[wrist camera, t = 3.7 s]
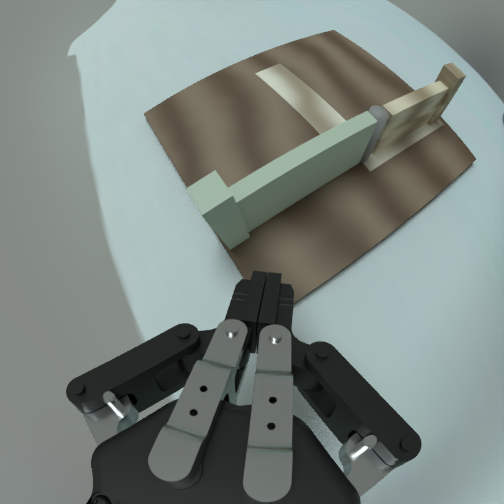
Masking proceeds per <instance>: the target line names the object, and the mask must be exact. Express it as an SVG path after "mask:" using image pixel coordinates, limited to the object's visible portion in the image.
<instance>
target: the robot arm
mask: <svg viewBox="0 0 504 504" xmlns="http://www.w3.org/2000/svg"><path fill="white" fill-rule="evenodd" d="M503 121H504V114H503ZM281 277H282V273H273V272H268V274H267V272H263V271H253V273H252V276H251V280H247V279H242V280H241V281H240V282H239V283H238V284H236V287H235V290H234V293H233V296H232V299H231V302H230V305H229V308H228V311H227V314H226V317H225V320H224V321H223V322H221V323H220V324H219V325H218V327H217V328H215V329H212V330H205V331H198V329H197V328H196V327H195V326H193V325H191V324H187V323H183V324H179V325H176V326H174V327H172V328H171V329H169V330H167V331H165V332H163V333H161V334H159V335H158V336H156V337H154V338H152V339H150V340H148V341H146V342H145V343H143V344H141V345H139V346H137V347H135V348H133V349H131V350H130V351H127V352H126V353H124V354H122V355H120V356H118V357H116V358H114V359H112V360H110V361H108V362H106V363H104V364H102V365H100V366H98V367H97V368H94V369H92V370H90V371H88V372H87V373H85V374H83V375H81V376H79V377H77V378H75V379H73V380H72V381H71V382H70V383H69V384H68V386H67V389H66V394H67V397H68V399H69V400H70V401H71V402H72V403H73V404H74V405H75V406H76V407H77V409H78V410H79V411H80V412H81V413H82V414H83V416H84V418H85V420H86V423H87V425H88V427H89V429H90V431H91V433H92V435H93V437H94V439H95V441H96V443H97V445H98V447H97V448H96V449H95V451H94V453H93V455H92V460H91V468H92V474H93V491H92V495H91V497H90V499H89V500H88V502H87V503H86V504H361V502H360V496H362V495H363V494H364V493H365V492H367V491H368V490H369V489H371V488H372V487H373V486H374V485H375V484H377V483H378V482H379V481H380V480H381V479H383V478H384V477H385V476H386V475H387V474H388V473H389V472H391V471H392V470H393V469H395V468H397V467H399V466H401V465H403V464H404V463H406V462H408V461H410V460H412V459H413V458H415V457H416V456H417V455H418V453H419V452H420V449H421V439H420V437H419V435H418V434H417V433H416V432H415V431H414V430H413V429H412V428H411V427H410V426H409V425H408V424H407V423H406V421H405V420H404V419H403V418H402V417H401V416H400V415H399V414H398V413H397V412H396V411H395V410H394V409H393V408H392V407H391V406H390V405H389V404H388V403H387V402H386V401H385V400H384V399H383V398H382V397H381V396H380V395H379V393H378V392H377V391H376V390H375V389H374V388H373V387H372V386H371V385H370V384H369V383H368V382H367V381H366V380H365V379H364V378H363V377H362V376H361V375H360V374H359V373H358V372H357V371H356V369H355V368H354V367H353V366H352V365H351V364H350V363H349V362H348V361H347V360H346V359H345V358H344V357H343V356H342V355H341V354H340V353H339V352H338V351H337V350H336V349H335V347H333V346H332V345H331V344H329V343H326V342H315V343H312V344H311V345H309V344H306V343H303V342H301V341H299V340H298V339H297V338H296V337H295V336H294V335H293V333H292V330H291V326H292V315H293V302H294V290H293V288H292V286H291V284H284V283H281ZM256 347H257V354H258V357H257V367H256V373H255V382H254V392H253V401H252V405H243V406H238V405H236V402H237V397H238V393H239V390H240V387H241V384H242V381H243V378H244V375H245V372H246V369H247V363H248V361H249V356H250V353H255V352H256ZM293 385H295V386H297V388H298V390H299V392H300V393H301V394H302V396H303V397H304V398H305V399H306V401H307V402H308V403H309V404H310V406H311V407H312V408H313V409H314V411H315V412H316V413H317V414H318V415H319V417H320V418H321V419H322V420H323V422H324V423H325V424H326V425H327V426H328V428H329V429H330V430H331V431H332V432H333V434H334V435H335V436H336V437H337V438H338V440H339V441H340V442H341V443H342V444H343V445H342V446H341V448H340V450H339V459H340V461H341V463H342V465H343V469H344V471H343V472H342V471H341V469H340V468H339V467H338V465H337V464H336V463H335V461H334V460H333V459H332V458H331V456H330V455H329V454H328V452H327V451H326V450H325V448H324V447H323V446H322V444H321V443H320V442H319V440H318V439H317V437H316V436H315V435H314V433H313V432H312V431H311V429H310V428H309V427H308V426H307V425H306V424H305V423H304V422H303V421H302V420H301V419H299V418H298V417H296V416H294V415H293ZM183 387H184V389H183V391H182V393H181V395H180V397H179V399H177V400H174V401H172V402H170V403H168V404H166V405H165V406H163V407H161V408H160V409H158V410H157V411H155V412H153V413H152V414H150V415H148V416H147V417H145V418H143V419H142V420H140V421H138V422H137V420H138V417H139V413H140V412H141V411H143V410H145V409H147V408H149V407H150V406H152V405H154V404H156V403H157V402H159V401H161V400H163V399H164V398H166V397H168V396H170V395H171V394H173V393H175V392H176V391H178V390H180V389H181V388H183ZM136 422H137V423H136Z"/></svg>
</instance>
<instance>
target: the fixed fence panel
mask: <svg viewBox="0 0 504 504" xmlns="http://www.w3.org/2000/svg"><path fill="white" fill-rule="evenodd" d="M465 77H466V75H465V74H464V73H463V72H462V71H461V70H459V69H458V68H457V67H456V66H455V65H454V64H453V63H449V64H446V65H444V66H443V68H442V70H441V72H440V73H439V75H438V77H437V79H436V81H435V83H432V84H430V85H427V86H425V87H423V88H420V89H418V90H416V91H413V92H411V93H409V94H406V95H404V96H402V97H400V98H398V99H395V100H393V101H391V102H389V103H387V104H384V105H382V107H383V108H384V109H385V110H386V111H387V112H388V115H389V117H388V119H387V121H386V124H385V126H384V128H383V130H382V132H381V134H380V136H379V138H378V140H377V142H376V144H375V146H374V148H373V150H372V152H371V154H372V155H374V154H376V153H378V152H379V151H381V150H383V149H384V148H386V147H388V146H389V145H391V144H393V143H394V142H396V141H398V140H399V139H401V138H403V137H404V136H406V135H408V134H409V133H411V132H413V131H414V130H416V129H418V128H419V127H421V126H423V125H425V124H426V123H428V125H431V124H433V123H434V122H436V121H438V119H439V118H440V116H441V115H442V113H443V112H444V110H445V109H446V107H447V106H448V104H449V103H450V101H451V99H452V98H453V96H454V95H455V93H456V92H457V90H458V88H459V87H460V85H461V84H462V82H463V80H464V79H465Z"/></svg>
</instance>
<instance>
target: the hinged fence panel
mask: <svg viewBox="0 0 504 504" xmlns="http://www.w3.org/2000/svg"><path fill="white" fill-rule="evenodd" d="M388 117H389V115H388V112H387V111H386V110H385V109H384V108H383V107H381V106H378V105H373V106H371V107H370V109H369V112H368V111H366V112H364V113H362V114H359V115H357V116H355V117H353V118H351V119H349V120H347V121H345V122H343V123H341V124H339V125H338V126H336V127H334V128H332V129H330V130H328V131H326V132H324V133H322V134H320V135H318V136H317V137H315V138H313V139H311V140H309V141H307V142H305V143H304V144H302V145H300V146H298V147H296V148H295V149H293V150H291V151H289V152H287V153H286V154H284V155H282V156H280V157H279V158H277V159H275V160H273V161H272V162H270V163H268V164H267V165H265V166H263V167H261V168H260V169H258V170H256V171H255V172H253V173H251V174H250V175H248V176H246V177H245V178H243V179H242V180H240V181H238V182H237V183H235V184H233V185H232V186H230V187H229V188H228V187H227V186H226V185H225V183H224V182H223V180H222V179H221V177H220V176H219V175H218V173H217V172H216V170H215V171H213V172H211V173H210V174H208V175H207V176H205V177H203V178H202V179H200V180H199V181H197V182H196V183H194V184H193V185H191V186H189V187H188V188H186V190H187V192H188V193H189V195H190V197H191V198H192V200H193V202H194V203H195V205H196V206H197V208H198V210H199V211H200V213H201V215H202V216H203V217H204V219H205V220H206V221H207V222H208V223H209V225H210V226H211V227H212V228H213V230H214V231H215V232H216V233H217V235H218V236H219V237H220V238H221V240H222V241H223V242H224V243H225V244H226V246H227V247H228V248H229V249H230V250H231V249H232V248H234V247H236V246H237V245H239V244H240V243H242V242H243V241H245V240H246V239H248V238H249V237H250V235H249V232H250V231H252V230H253V229H255V228H256V227H258V226H260V225H261V224H263V223H264V222H266V221H267V220H269V219H270V218H272V217H274V216H275V215H277V214H278V213H280V212H281V211H283V210H285V209H286V208H288V207H289V206H291V205H293V204H294V203H296V202H297V201H299V200H300V199H302V198H304V197H305V196H307V195H308V194H310V193H312V192H313V191H315V190H316V189H318V188H320V187H321V186H323V185H324V184H326V183H328V182H329V181H331V180H332V179H334V178H336V177H337V176H339V175H341V174H342V173H344V172H345V171H347V170H349V169H350V168H352V167H354V166H355V165H357V164H358V163H359V162H365V161H367V160H368V158H369V156H370V154H371V152H372V150H373V148H374V146H375V144H376V142H377V140H378V138H379V136H380V134H381V132H382V130H383V128H384V126H385V124H386V121H387V119H388Z"/></svg>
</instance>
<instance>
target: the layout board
mask: <svg viewBox="0 0 504 504" xmlns="http://www.w3.org/2000/svg"><path fill="white" fill-rule="evenodd" d="M413 91H414V90H413V89H412V88H411V87H410V86H409V85H408V84H407V83H405V82H404V81H403V80H402V79H401V78H400V77H398V76H397V75H396V74H395V73H394V72H392V71H391V70H390V69H389V68H388V67H386V66H385V65H384V64H382V63H381V62H380V61H379V60H377V59H376V58H375V57H373V56H372V55H371V54H369V53H368V52H366V51H365V50H364V49H362V48H361V47H359V46H358V45H356V44H355V43H353V42H352V41H350V40H349V39H347V38H346V37H344V36H343V35H341V34H340V33H338V32H336V31H335V30H332V31H328V32H324V33H320V34H316V35H313V36H309V37H306V38H303V39H299V40H296V41H293V42H290V43H287V44H284V45H281V46H278V47H275V48H273V49H270V50H267V51H265V52H262V53H259V54H257V55H254V56H252V57H249V58H247V59H245V60H242V61H240V62H238V63H235V64H233V65H231V66H229V67H227V68H224V69H222V70H220V71H218V72H216V73H214V74H212V75H210V76H208V77H206V78H204V79H202V80H200V81H198V82H196V83H194V84H193V85H191V86H189V87H187V88H185V89H184V90H182V91H180V92H178V93H176V94H175V95H173V96H171V97H170V98H168V99H166V100H165V101H163V102H161V103H160V104H158V105H157V106H155V107H153V108H152V109H150V110H149V111H147V112H146V113H144V116H145V117H146V119H147V121H148V122H149V124H150V126H151V128H152V129H153V131H154V133H155V134H156V136H157V138H158V139H159V141H160V143H161V145H162V146H163V148H164V150H165V151H166V153H167V155H168V156H169V158H170V160H171V161H172V163H173V165H174V166H175V168H176V170H177V171H178V173H179V175H180V176H181V178H182V180H183V181H184V183H185V185H186V186H187V188H188V187H189V186H191V185H193V184H194V183H196V182H197V181H199V180H200V179H202V178H203V177H205V176H207V175H208V174H210V173H211V172H213V171H215V170H216V172H217V173H218V175H219V176H220V177H221V179H222V180H223V182H224V183H225V185H226V186H227V187H228V188H229V187H230V186H232V185H233V184H235V183H237V182H238V181H240V180H242V179H243V178H245V177H246V176H248V175H250V174H251V173H253V172H255V171H256V170H258V169H260V168H261V167H263V166H265V165H267V164H268V163H270V162H272V161H273V160H275V159H277V158H279V157H280V156H282V155H284V154H286V153H287V152H289V151H291V150H293V149H295V148H296V147H298V146H300V145H302V144H304V143H305V142H307V141H309V140H311V139H313V138H315V137H317V136H318V135H320V134H322V133H324V132H326V131H328V130H330V129H332V128H334V127H336V126H338V125H339V124H341V123H343V122H345V121H347V120H349V119H351V118H353V117H355V116H357V115H359V114H362V113H364V112H366V111H368V112H369V109H370V107H371V106H373V105H378V106H381V107H382V105H384V104H387V103H389V102H391V101H393V100H395V99H398V98H400V97H402V96H404V95H406V94H409V93H411V92H413ZM475 160H476V158H475V157H474V155H473V154H472V153H471V152H470V150H469V149H468V148H467V146H466V145H465V144H464V143H463V142H462V140H461V139H460V138H459V137H458V136H457V134H456V133H455V132H454V131H453V130H452V129H451V127H450V126H449V125H448V124H447V123H446V122H445V121H444V120H443V119H442V117H441V116H440V118H439V119H438V121H436V122H434V123H433V124H431V125H428V123H426V124H425V125H423V126H421V127H419V128H418V129H416V130H414V131H413V132H411V133H409V134H408V135H406V136H404V137H403V138H401V139H399V140H398V141H396V142H394V143H393V144H391V145H389V146H388V147H386V148H384V149H383V150H381V151H379V152H378V153H376V154H374V155H372V154H370V156H369V158H368V160H367V161H365V162H359V163H358V164H357V165H355V166H354V167H352V168H350V169H349V170H347V171H345V172H344V173H342V174H341V175H339V176H337V177H336V178H334V179H332V180H331V181H329V182H328V183H326V184H324V185H323V186H321V187H320V188H318V189H316V190H315V191H313V192H312V193H310V194H308V195H307V196H305V197H304V198H302V199H300V200H299V201H297V202H296V203H294V204H293V205H291V206H289V207H288V208H286V209H285V210H283V211H281V212H280V213H278V214H277V215H275V216H274V217H272V218H270V219H269V220H267V221H266V222H264V223H263V224H261V225H260V226H258V227H256V228H255V229H253V230H252V231H250V232H249V235H250V237H249V238H248V239H246V240H245V241H243V242H242V243H240V244H239V245H237V246H236V247H234V248H232V249H231V250H230V249H229V248H228V247H227V246H226V244H225V243H224V242H223V241H222V240H221V238H220V237H219V236H218V235H217V233H216V232H215V231H214V232H215V233H216V235H217V236H218V238H219V240H220V241H221V243H222V244H223V246H224V248H225V249H226V251H227V252H228V254H229V256H230V257H231V259H232V260H233V262H234V263H235V265H236V267H237V268H238V270H239V271H240V273H241V274H242V276H243V278H244V279H247V280H251V276H252V273H253V271H263V272H267V274H268V272H273V273H282V277H281V283H284V284H291V286H292V288H293V290H294V302H293V303H295V302H296V301H298V300H299V299H301V298H302V297H304V296H305V295H307V294H308V293H309V292H311V291H312V290H314V289H315V288H317V287H318V286H320V285H321V284H323V283H324V282H325V281H327V280H328V279H330V278H331V277H332V276H334V275H335V274H337V273H338V272H339V271H341V270H342V269H344V268H345V267H346V266H348V265H349V264H350V263H352V262H353V261H355V260H356V259H357V258H359V257H360V256H361V255H363V254H364V253H365V252H367V251H368V250H369V249H371V248H372V247H373V246H375V245H376V244H377V243H378V242H380V241H381V240H382V239H384V238H385V237H386V236H387V235H389V234H390V233H391V232H393V231H394V230H395V229H396V228H398V227H399V226H400V225H401V224H403V223H404V222H405V221H406V220H408V219H409V218H410V217H411V216H412V215H414V214H415V213H416V212H417V211H419V210H420V209H421V208H422V207H423V206H424V205H426V204H427V203H428V202H429V201H430V200H432V199H433V198H434V197H435V196H436V195H437V194H439V193H440V192H441V191H442V190H443V189H444V188H445V187H447V186H448V185H449V184H450V183H451V182H452V181H453V180H454V179H455V178H457V177H458V176H459V175H460V174H461V173H462V172H463V171H464V170H465V169H466V168H467V167H469V166H470V165H471V164H472V163H473V162H474V161H475Z"/></svg>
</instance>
